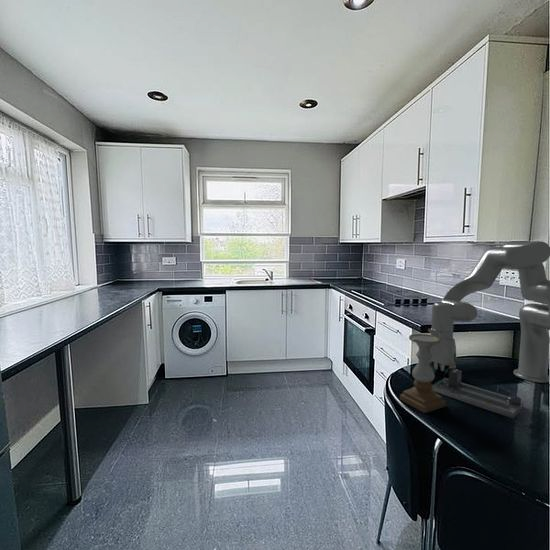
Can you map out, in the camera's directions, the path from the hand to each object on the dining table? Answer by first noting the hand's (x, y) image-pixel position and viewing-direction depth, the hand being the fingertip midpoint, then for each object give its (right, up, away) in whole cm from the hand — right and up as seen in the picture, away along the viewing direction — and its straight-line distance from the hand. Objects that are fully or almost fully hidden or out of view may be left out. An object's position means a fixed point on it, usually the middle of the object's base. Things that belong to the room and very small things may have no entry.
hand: (440, 378), depth 124 cm
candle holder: (-13, -5, -12) cm, 18 cm away
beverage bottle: (+6, -2, +13) cm, 15 cm away
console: (+8, -4, -9) cm, 13 cm away
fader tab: (+3, -2, -4) cm, 6 cm away
